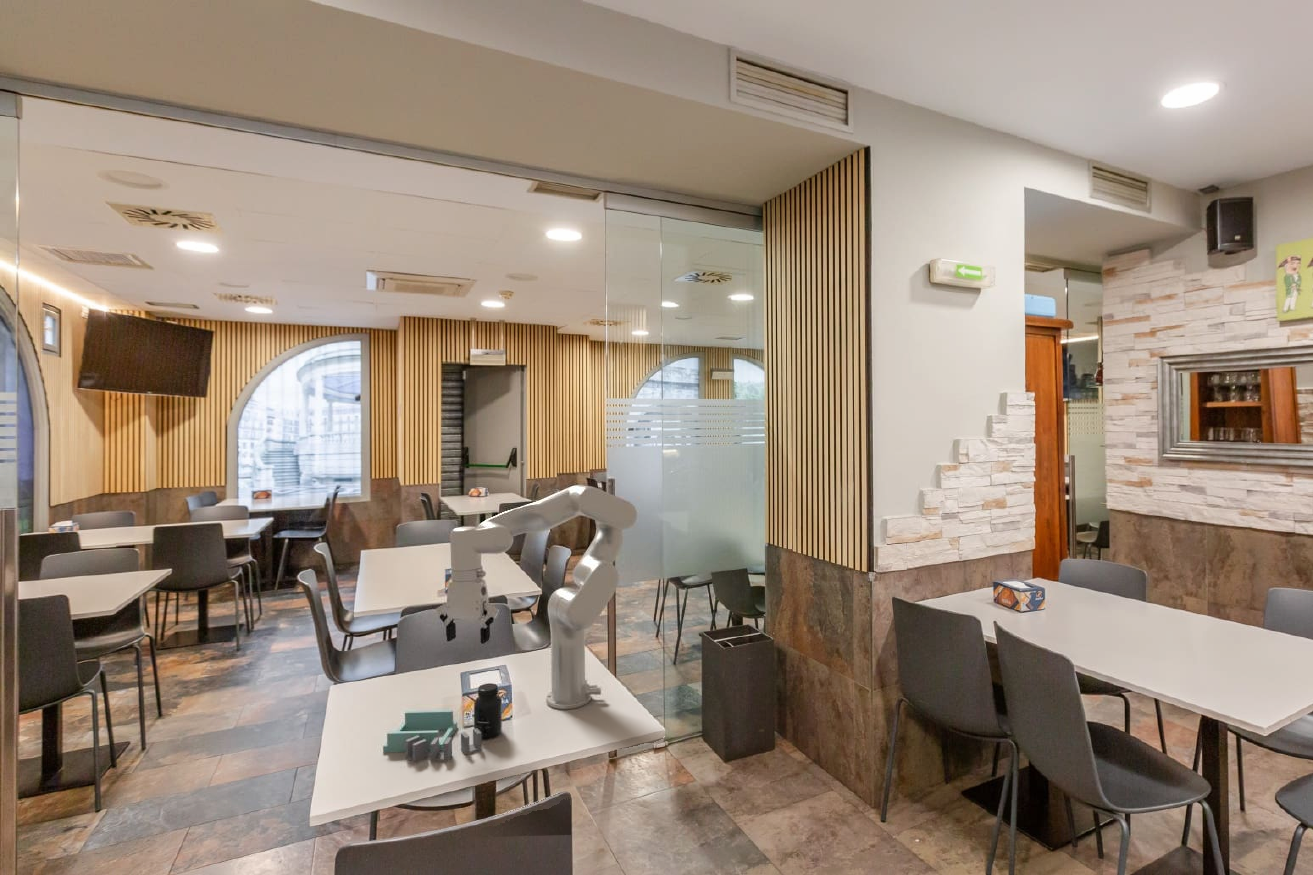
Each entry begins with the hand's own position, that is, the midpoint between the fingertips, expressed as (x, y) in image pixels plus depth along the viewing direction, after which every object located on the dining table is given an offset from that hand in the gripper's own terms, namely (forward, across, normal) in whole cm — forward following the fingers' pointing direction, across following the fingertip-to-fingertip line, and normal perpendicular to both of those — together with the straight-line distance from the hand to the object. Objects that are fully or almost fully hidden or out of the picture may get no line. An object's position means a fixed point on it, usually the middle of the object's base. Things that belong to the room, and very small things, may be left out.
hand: (468, 640), depth 160 cm
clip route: (+22, -1, +13) cm, 26 cm away
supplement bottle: (+23, -7, +3) cm, 24 cm away
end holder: (+22, +8, +9) cm, 25 cm away
